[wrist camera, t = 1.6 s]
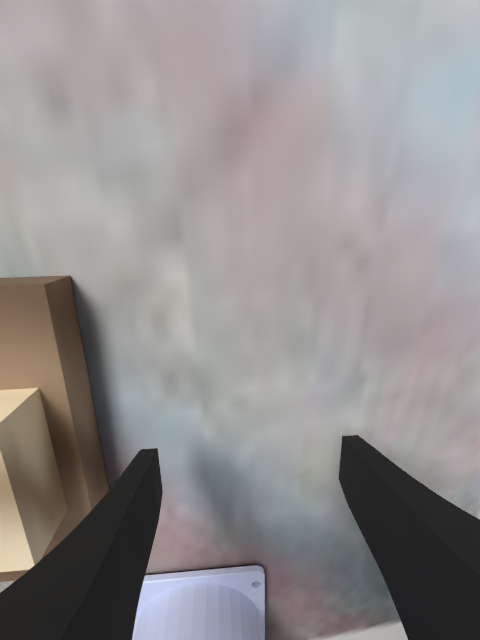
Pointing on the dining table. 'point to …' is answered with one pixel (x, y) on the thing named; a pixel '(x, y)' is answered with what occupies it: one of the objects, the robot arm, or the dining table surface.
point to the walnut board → (54, 387)
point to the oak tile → (26, 481)
